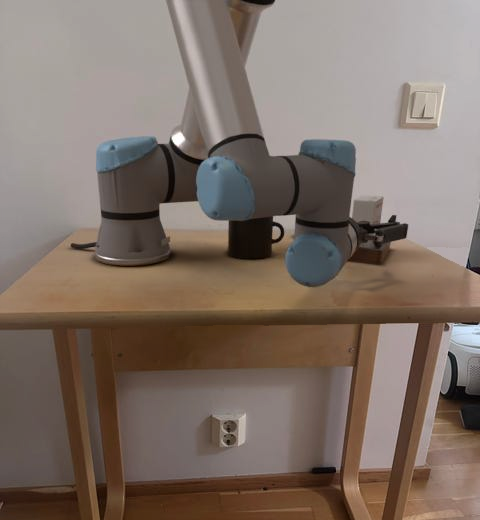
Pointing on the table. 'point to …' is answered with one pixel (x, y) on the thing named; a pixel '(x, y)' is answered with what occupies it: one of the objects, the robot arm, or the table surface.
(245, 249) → the mug
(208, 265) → the table surface
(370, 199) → the ink box
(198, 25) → the robot arm
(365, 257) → the wooden tray
